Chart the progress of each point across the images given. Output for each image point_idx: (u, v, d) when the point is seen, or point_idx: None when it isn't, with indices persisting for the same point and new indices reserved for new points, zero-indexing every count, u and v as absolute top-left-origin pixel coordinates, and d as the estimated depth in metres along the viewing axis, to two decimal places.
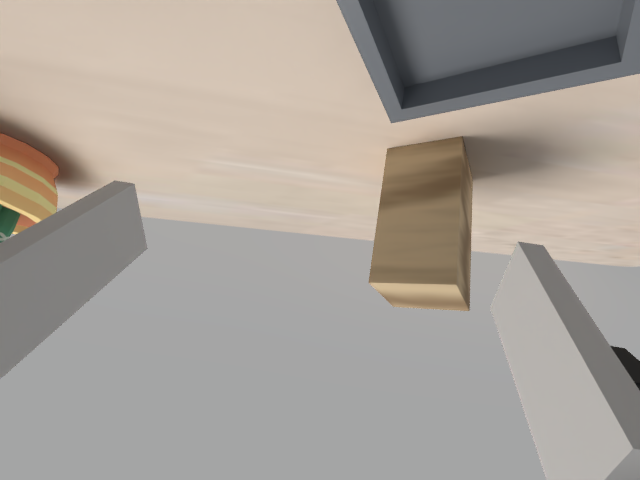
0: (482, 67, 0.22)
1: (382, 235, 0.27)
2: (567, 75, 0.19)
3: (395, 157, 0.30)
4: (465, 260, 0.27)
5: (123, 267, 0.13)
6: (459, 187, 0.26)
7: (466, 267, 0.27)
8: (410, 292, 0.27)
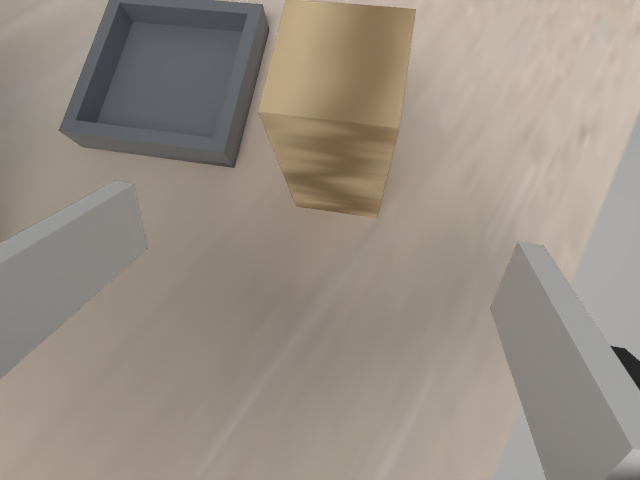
0: None
1: None
2: (243, 37, 0.28)
3: None
4: None
5: (123, 267, 0.13)
6: None
7: None
8: (313, 66, 0.16)
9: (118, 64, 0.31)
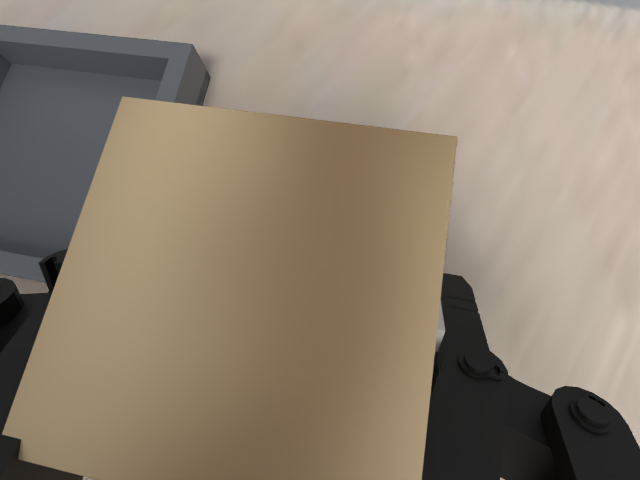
0: None
1: None
2: (159, 96, 0.18)
3: None
4: None
5: None
6: None
7: None
8: (168, 305, 0.06)
9: None
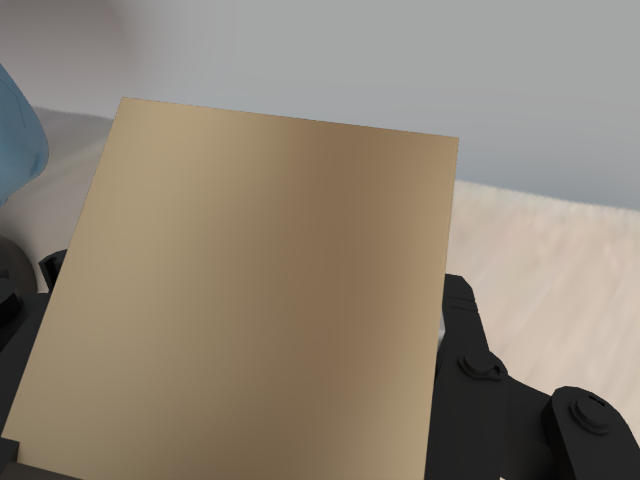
0: None
1: None
2: None
3: None
4: None
5: None
6: None
7: None
8: (168, 307, 0.06)
9: None
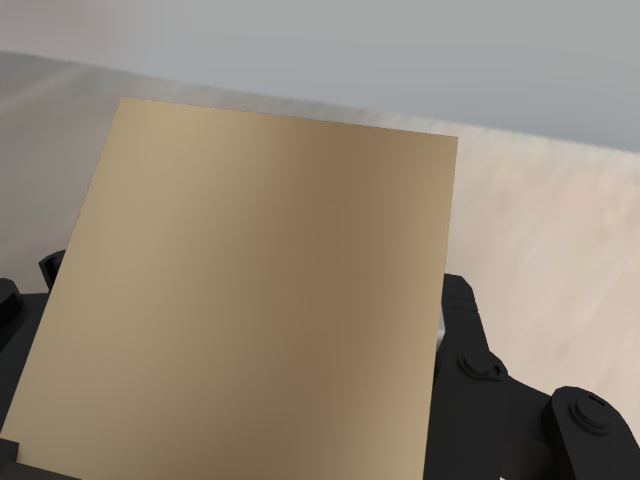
0: None
1: None
2: None
3: None
4: None
5: None
6: None
7: None
8: (167, 307, 0.06)
9: None
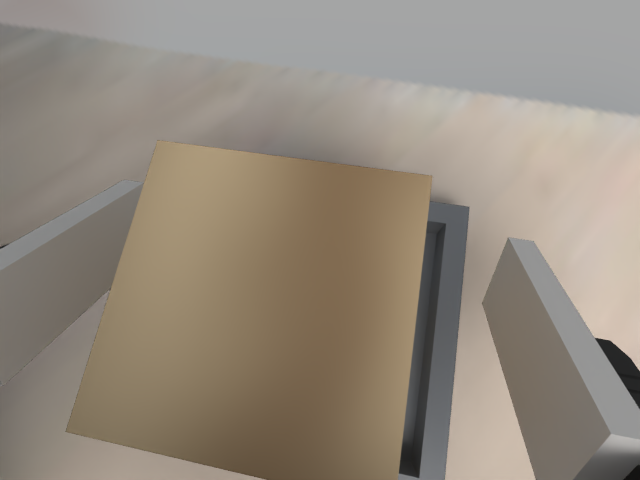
0: (422, 356, 0.18)
1: None
2: (444, 268, 0.17)
3: None
4: None
5: None
6: None
7: None
8: (200, 313, 0.07)
9: None
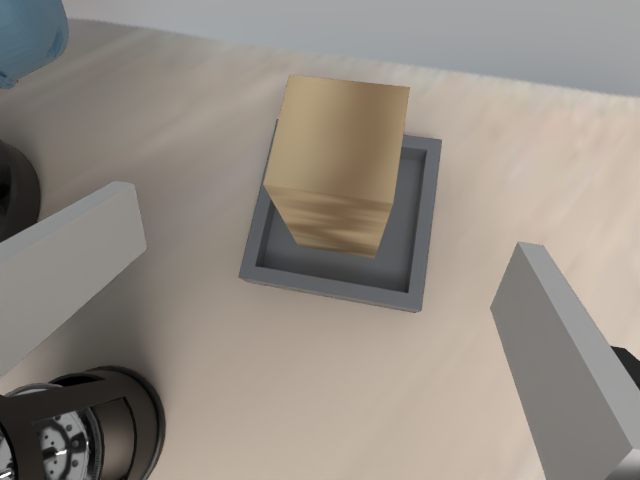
0: (412, 235, 0.28)
1: None
2: (425, 176, 0.27)
3: None
4: None
5: (123, 267, 0.13)
6: None
7: None
8: (314, 141, 0.17)
9: None
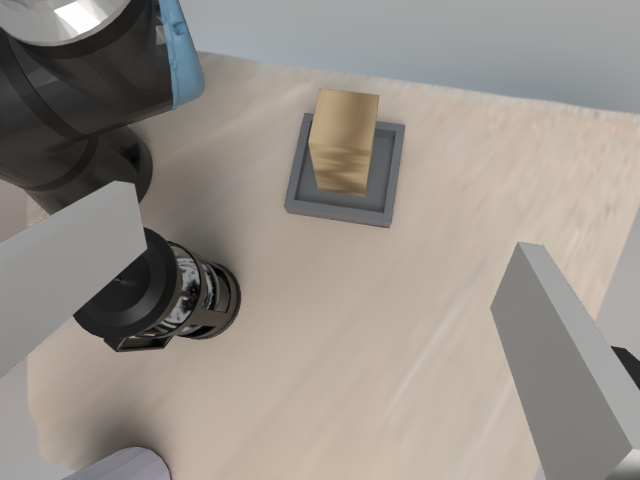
0: (387, 183, 0.46)
1: None
2: (395, 146, 0.45)
3: None
4: None
5: (123, 267, 0.13)
6: None
7: None
8: (332, 121, 0.35)
9: (306, 158, 0.48)
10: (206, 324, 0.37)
